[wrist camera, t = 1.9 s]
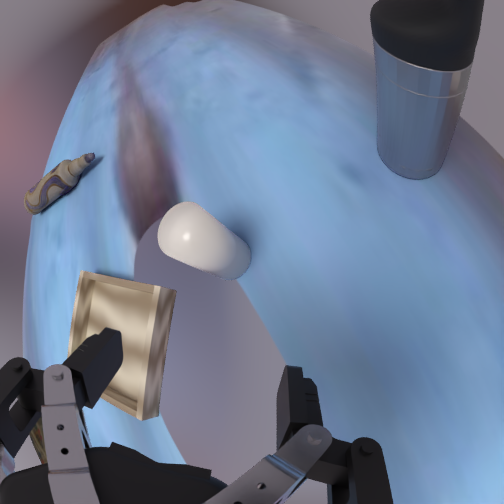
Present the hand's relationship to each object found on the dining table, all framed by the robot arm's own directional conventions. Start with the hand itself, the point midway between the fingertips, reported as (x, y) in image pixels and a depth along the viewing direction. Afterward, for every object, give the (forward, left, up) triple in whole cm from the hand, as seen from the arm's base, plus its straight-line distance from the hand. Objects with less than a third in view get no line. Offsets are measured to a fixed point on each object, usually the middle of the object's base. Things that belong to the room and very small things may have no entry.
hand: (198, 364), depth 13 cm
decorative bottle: (-22, -56, -20) cm, 63 cm away
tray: (+5, -25, -20) cm, 32 cm away
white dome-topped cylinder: (-9, -9, -20) cm, 23 cm away
